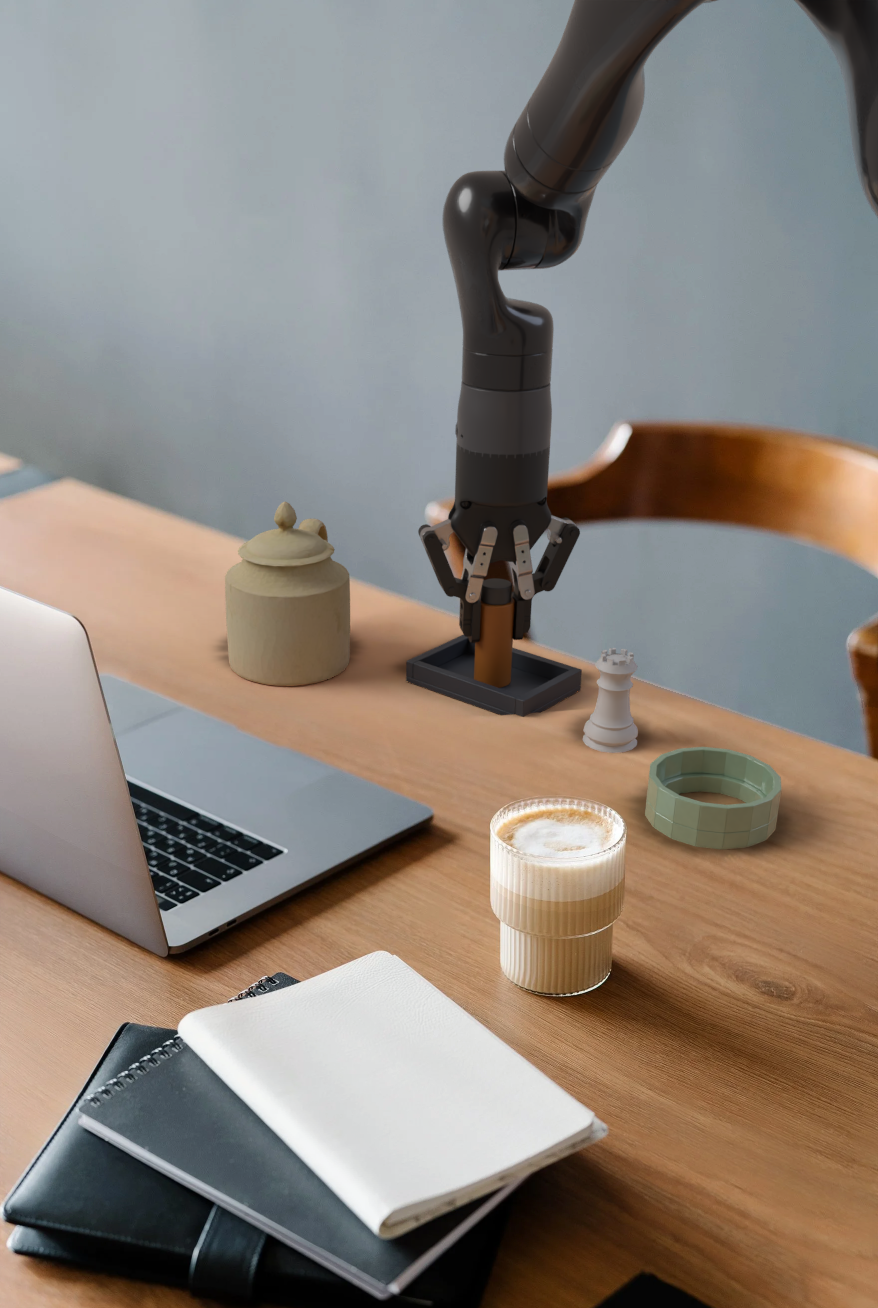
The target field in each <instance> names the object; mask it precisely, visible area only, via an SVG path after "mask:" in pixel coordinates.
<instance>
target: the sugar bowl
mask: <svg viewBox="0 0 878 1308" xmlns="http://www.w3.org/2000/svg"><path fill="white" fill-rule="evenodd" d="M273 517H274V518H273V520H274V523H275V524H276V526H277V527H278V528H274V529H269V530H265V531H263V532H261V533H258V534H256V535H254V536H253V537H252V538H251V539H249V540H248V541H245V542H244V543H243V544H242V545H241V546H240V547H239V548H238V549H237V555H238V556H239V558H241V559H242V560H240V562H238V563H236V564H234V565H232V566H231V567H230V568H229V569H228V570H227V571H226V573H225V576H224V589H225V590H224V599H225V600H224V601H225V603H224V605H225V621H226V622H225V623H226V625H225V626H226V640H227V652H228V653H227V655H228V662H229V663H228V664H229V667H230V669H231V671H232V672H233V673H235V674H236V675H237V676H238V677H240V678H242V679H244V680H247V681H250V682H253V683H258V684H262V685H266V686H278V687H295V686H296V687H297V686H307V685H312V684H313V685H314V684H318V683H321V682H323V681H328V680H331V679H332V677H333V678H335V677H337V676H338V675H340V674H341V673H343V672H344V671H345V670H346V669H347V667H348V665H349V664H350V655H351V654H350V653H351V651H350V649H351V582H350V581H351V580H350V579H351V578H350V573H349V570H348V569H347V567H345V566H344V565H343V564H342V563H340V562H338V561H335V560H333V559H332V555H334V554H335V550H336V549H335V547H334V545H333V544H331V542H329V538H328V537H329V535H328V531H327V527H326V525H325V523H324V522H323V521H322V520H320V519H318V518H305V519H303V520H302V521H301V522H300V523H299V526H298V528H295V527H294V526H295V525H296V523H297V520H298V516H297V514H296V510H295V508H294V507H293V506H292V505H291V503H290V502H288V501H282V502H281V503H280V504H279V505H278V507H277V509H276V510H275V513H274V516H273ZM345 668H346V669H345ZM344 669H345V670H344ZM343 670H344V671H343ZM342 671H343V672H342ZM336 675H337V676H336ZM334 676H335V677H334ZM327 679H328V680H327Z"/></svg>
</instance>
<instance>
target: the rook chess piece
mask: <svg viewBox="0 0 878 1308" xmlns="http://www.w3.org/2000/svg"><path fill="white" fill-rule="evenodd" d="M634 656H635V654H634V653H633V652H632V651H629V652H628V649H625V648H621V649H620V653H617V648H616V647H610V648H609V649H608V650H607V649H602V651H601V653H600V657H599V658H598V659H597V660H596V661H595V664H594V665H595V666H594V667H596V669H597V670H598V672H599V673H600V674H599V675H600V676H599V678H598V679H597V680H596V684H597V686H598V693H597V699H596V704H595V707H594V709H593V712H592V713H591V714H590V716H589V719H588V720H587V721H586V722H585V723H584V726H583V729H582V730H583V733H584V734H583V736H582V742H583V743H584V744H585V746H587V747H588V748H590V749H592V750H595V751H598V752H601V753H609V754H616V753H625V752H629V751H632V750H633V749H634V748H636V747H637V746H638V740H637V739H636V738H637V737H638V736H639V735H638V734H639V730H638V726H637V725H636V724H635V722H634V721H635V720H634V717H633V716H632V712H631V702H630V701H631V700H630V693H631V692H630V691H631V689H632V688H633V687H634V683H633V681H632V679H631V678H632V675H633V674H634V673H635V672H636V671H637V670H638V664H637V663H636V662H635V661H634Z"/></svg>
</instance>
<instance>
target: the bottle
mask: <svg viewBox="0 0 878 1308" xmlns="http://www.w3.org/2000/svg"><path fill="white" fill-rule="evenodd" d="M512 592H513V582H511V581H510V580H508V579H505V578H497V577H496V578H493V577H492V578H487V579H484V580H483V584H482V588H481V592H480V597H479V601H480V602H481V617H480V640H479V642H475V663H474V680H477V681H480V682H483V683H486V684H489V685H492V686H495V687H497V688H501V687H505V686H507V685H509V684H510V682H511V665H512V648H513V646H514V645H513V643H514V639H513V627H514V607H515V601H514V599H513V598H512V597H511V596H512Z"/></svg>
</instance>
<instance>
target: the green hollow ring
mask: <svg viewBox="0 0 878 1308" xmlns="http://www.w3.org/2000/svg"><path fill="white" fill-rule="evenodd" d="M648 771H649V772H648V781H647V791H646V798H645V799H646V800H645V811H644V817H646V819H647V821H648V822H649V823H650V825H651V826H652V828H654V829H655V830H657V831H658V832H660V833H661V834H663V835H665V836H666V837H668V838H669V839H672V840H673V841H677V842H679V843H683V844H687V845H690V846H691V847H692V846H693V847H695V848H703V849H713V850H722V851H723V850H733V849H745V848H750V847H753V846H755V845H757V844H760V843H763V842H765V841H767V840H768V839H769V838H770V836H771V835H773V833H774V832H775V831H776V829H777V822H778V815H779V809H780V803H781V796H782V788H783V787H782V778H781V776H780V774H778V772H776V770H775V769H774V768H773V767H772V766H771V765H770V764H768V763H767V762H764V761H763V760H761V759H758V758H757V757H755V756H753V755H751V754H747V753H743V752H740V751H737V750H732V749H729V748H720V747H711V746H693V747H680V748H677V749H673V750H671V751H668V752H664V753H662V754H660V755H659V756H658V757H656V758H655V759H654V760H653V761H652V762H651V763H650V764H649V770H648ZM700 792H703V793H712V794H721V795H724V796H728V797H731V798H734V799H738V800H740V801H741V802H742V803H731V804H723V803H713V802H704V801H701V800H696V799H693V798H690V797H687V796H683V795H680V794H687V793H688V794H689V793H700ZM743 802H744V803H743Z"/></svg>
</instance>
